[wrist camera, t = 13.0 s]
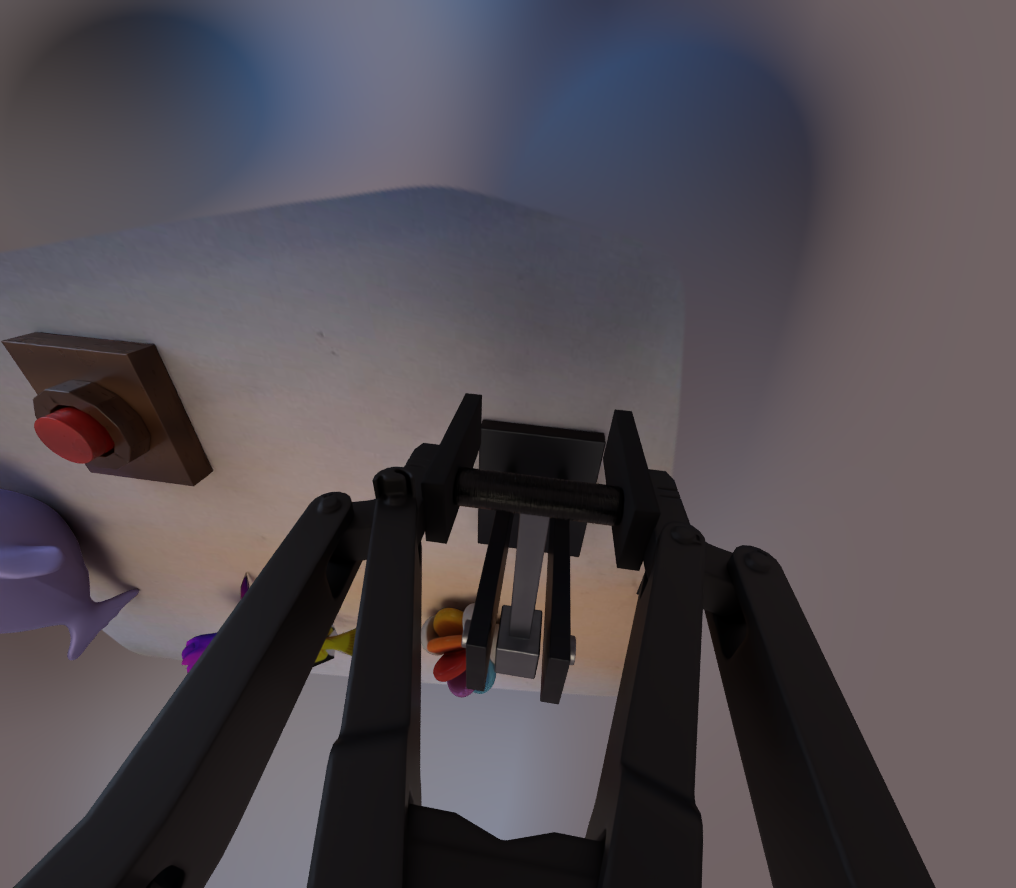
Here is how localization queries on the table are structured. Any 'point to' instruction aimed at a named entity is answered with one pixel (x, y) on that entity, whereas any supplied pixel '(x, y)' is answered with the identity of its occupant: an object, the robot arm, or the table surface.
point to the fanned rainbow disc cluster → (453, 649)
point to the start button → (73, 435)
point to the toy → (326, 653)
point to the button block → (115, 402)
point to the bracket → (499, 530)
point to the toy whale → (47, 575)
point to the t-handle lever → (532, 544)
